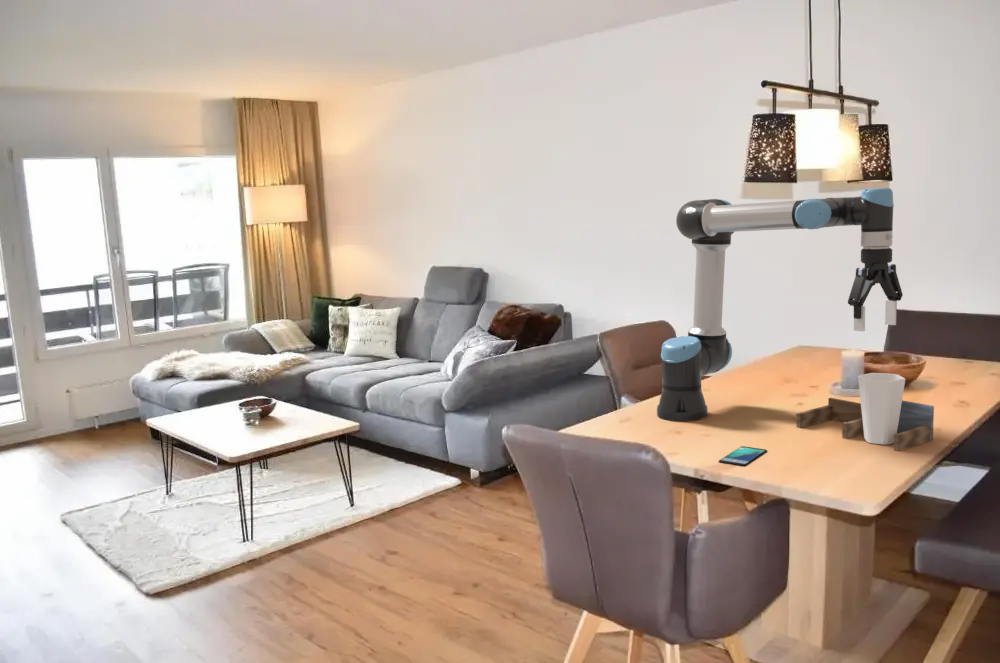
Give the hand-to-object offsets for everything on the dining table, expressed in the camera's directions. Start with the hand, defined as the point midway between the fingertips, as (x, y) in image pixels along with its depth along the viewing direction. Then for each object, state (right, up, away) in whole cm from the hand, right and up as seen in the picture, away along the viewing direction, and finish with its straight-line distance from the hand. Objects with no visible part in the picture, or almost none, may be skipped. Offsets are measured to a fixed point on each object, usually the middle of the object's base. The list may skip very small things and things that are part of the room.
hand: (875, 327), depth 219 cm
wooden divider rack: (-2, -29, +4) cm, 29 cm away
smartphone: (-38, -33, -11) cm, 52 cm away
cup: (0, -30, -4) cm, 30 cm away
